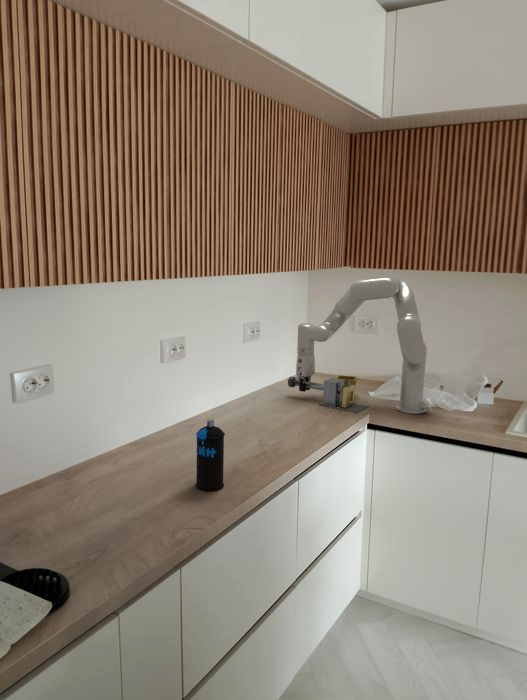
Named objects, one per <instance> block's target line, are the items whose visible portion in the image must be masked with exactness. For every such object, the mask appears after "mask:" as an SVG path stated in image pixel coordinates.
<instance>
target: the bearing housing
mask: <svg viewBox="0 0 527 700" xmlns="http://www.w3.org/2000/svg"><path fill="white" fill-rule="evenodd" d="M336 378H337V377H336ZM336 378H335V377H330V378H328V379H325V380H323V384H324V389H323V390H322V391H323V393H322V401H321V402H319V404H318V405H319V407H325V408H329V407H332V408H331V409H335V408H337V407H340V393H338V387H341V385H343V384H344V380H343V379H336Z"/></svg>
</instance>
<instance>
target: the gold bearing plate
mask: <svg viewBox="0 0 527 700" xmlns="http://www.w3.org/2000/svg"><path fill="white" fill-rule="evenodd" d="M355 396H356V386H355V385H350V386H347V387H345V388H343V395H342V407H344V408H347V407H349V406H351V405H353V404H355Z"/></svg>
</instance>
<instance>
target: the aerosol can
mask: <svg viewBox="0 0 527 700" xmlns="http://www.w3.org/2000/svg"><path fill="white" fill-rule="evenodd" d="M206 421H207V422H206V426H203V427H201V428H200V429H199V430H198V431H196V433H195V436H196V482H195V488H196V489H197V490H198V491H203V492H216V491H220V490H222V489H223V488H224V487H225V484H224V483H225V482H224V463H225V462H224V458H225V457H224V453H225V452H224V451H225V449H224V448H225V445H224V444H225V435H226V433H225V432H224V431H223V430H222V429H221V427H219V426H216V425H215V419H214V418H207V419H206Z"/></svg>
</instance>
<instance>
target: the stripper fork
mask: <svg viewBox="0 0 527 700" xmlns="http://www.w3.org/2000/svg"><path fill="white" fill-rule="evenodd" d="M350 385H351V382H348V384H347V386H350ZM343 388H344V384H343V385H341V394H340V408H342V395H343Z"/></svg>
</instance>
